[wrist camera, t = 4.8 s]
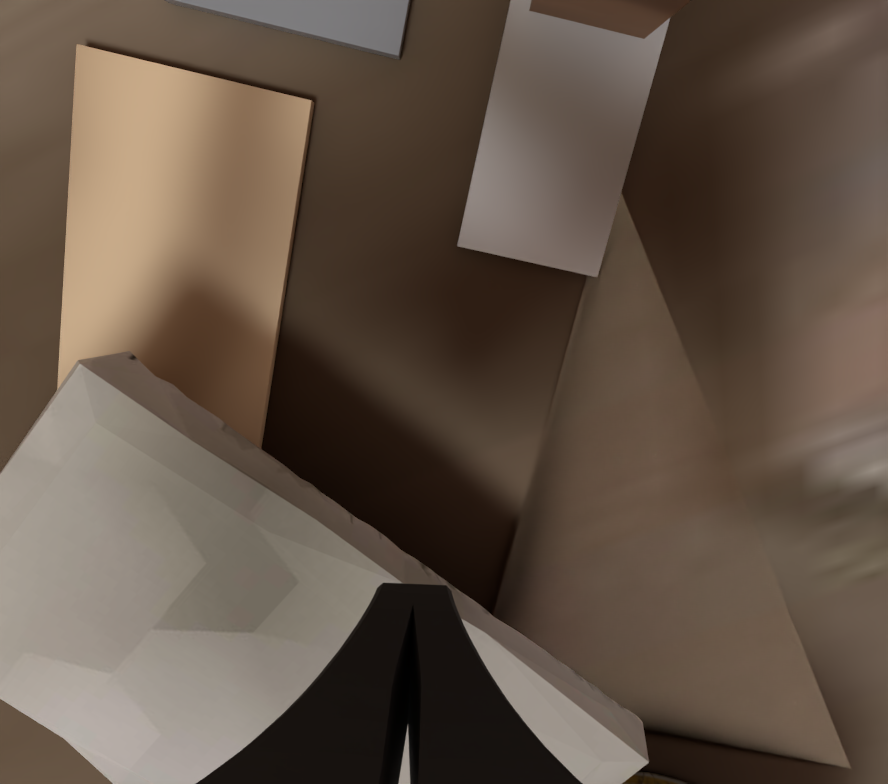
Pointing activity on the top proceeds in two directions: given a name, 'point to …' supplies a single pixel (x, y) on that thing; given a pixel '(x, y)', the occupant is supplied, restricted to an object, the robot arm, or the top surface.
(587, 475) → the top surface
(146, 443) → the packaged product
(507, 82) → the brown and white block
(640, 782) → the apothecary jar
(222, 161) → the cork trivet
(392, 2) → the slate pad
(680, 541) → the top surface
